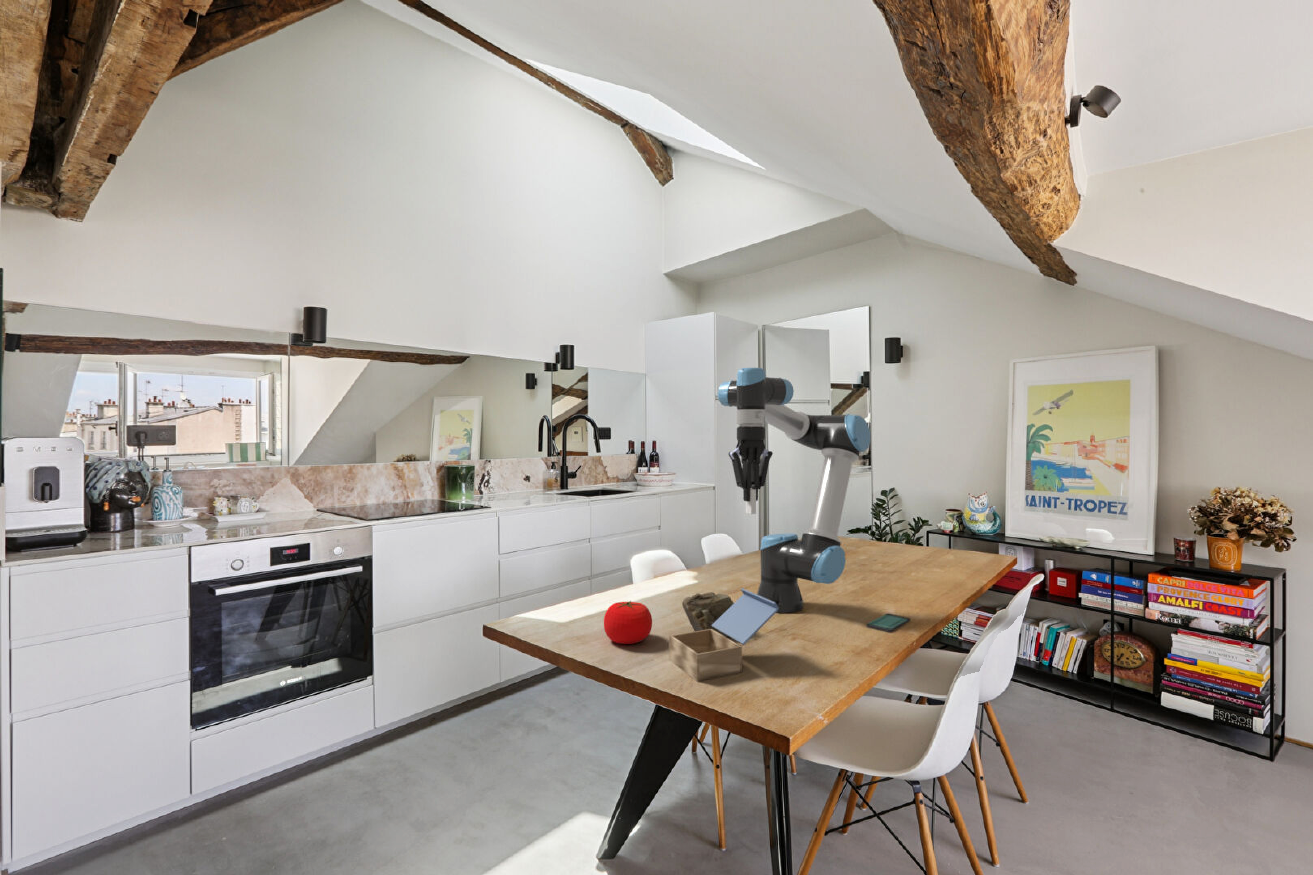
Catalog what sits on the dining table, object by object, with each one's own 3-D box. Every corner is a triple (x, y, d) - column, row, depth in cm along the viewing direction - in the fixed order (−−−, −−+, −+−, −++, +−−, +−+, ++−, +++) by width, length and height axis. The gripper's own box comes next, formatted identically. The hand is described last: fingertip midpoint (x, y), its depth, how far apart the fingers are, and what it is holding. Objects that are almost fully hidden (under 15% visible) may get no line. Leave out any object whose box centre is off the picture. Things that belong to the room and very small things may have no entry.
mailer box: (669, 659, 148) (669, 635, 148) (711, 651, 153) (711, 628, 153) (697, 681, 135) (697, 654, 135) (741, 672, 140) (741, 646, 140)
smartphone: (911, 617, 178) (890, 629, 168) (911, 621, 178) (890, 633, 168) (886, 612, 184) (864, 623, 173) (886, 616, 184) (864, 627, 173)
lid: (741, 587, 157) (745, 594, 158) (708, 620, 153) (712, 626, 153) (775, 602, 144) (779, 608, 145) (739, 638, 140) (743, 645, 140)
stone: (690, 600, 159) (727, 574, 168) (673, 605, 166) (709, 579, 175) (719, 655, 157) (755, 626, 166) (701, 657, 164) (736, 629, 173)
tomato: (597, 634, 166) (597, 597, 166) (641, 629, 171) (641, 592, 170) (612, 652, 153) (612, 612, 153) (659, 646, 157) (659, 606, 157)
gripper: (738, 425, 155) (738, 516, 155) (779, 425, 160) (778, 513, 161) (722, 425, 162) (722, 513, 162) (762, 425, 167) (762, 510, 168)
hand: (750, 513), depth 161 cm, fingers closed
